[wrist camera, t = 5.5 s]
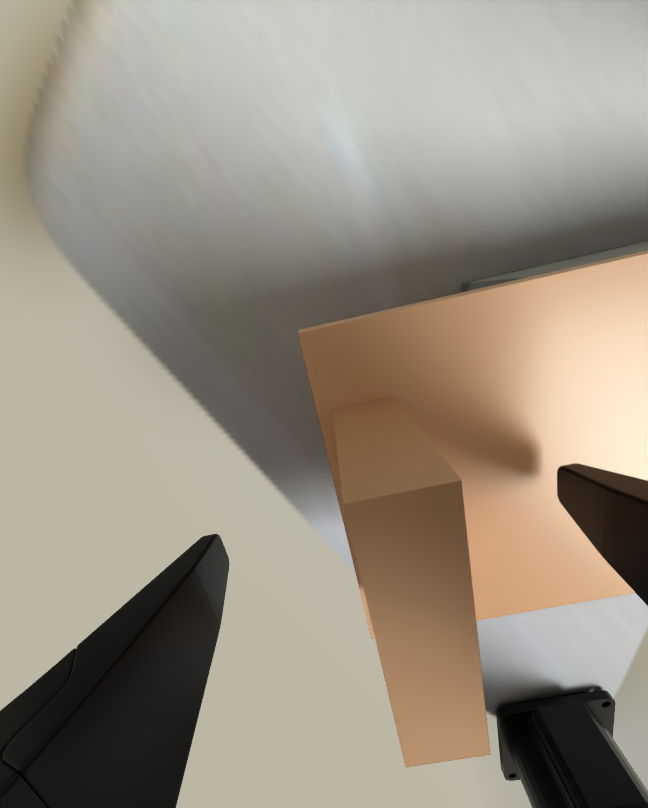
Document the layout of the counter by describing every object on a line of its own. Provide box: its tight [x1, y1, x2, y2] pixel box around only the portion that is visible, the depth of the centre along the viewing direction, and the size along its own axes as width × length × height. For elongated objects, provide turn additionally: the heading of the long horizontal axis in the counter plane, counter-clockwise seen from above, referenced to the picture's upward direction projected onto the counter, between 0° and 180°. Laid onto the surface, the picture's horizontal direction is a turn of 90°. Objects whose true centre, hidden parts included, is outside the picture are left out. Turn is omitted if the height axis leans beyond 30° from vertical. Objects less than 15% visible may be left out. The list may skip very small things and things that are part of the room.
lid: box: [298, 250, 648, 767], centre depth 7 cm, size 10×10×5 cm
